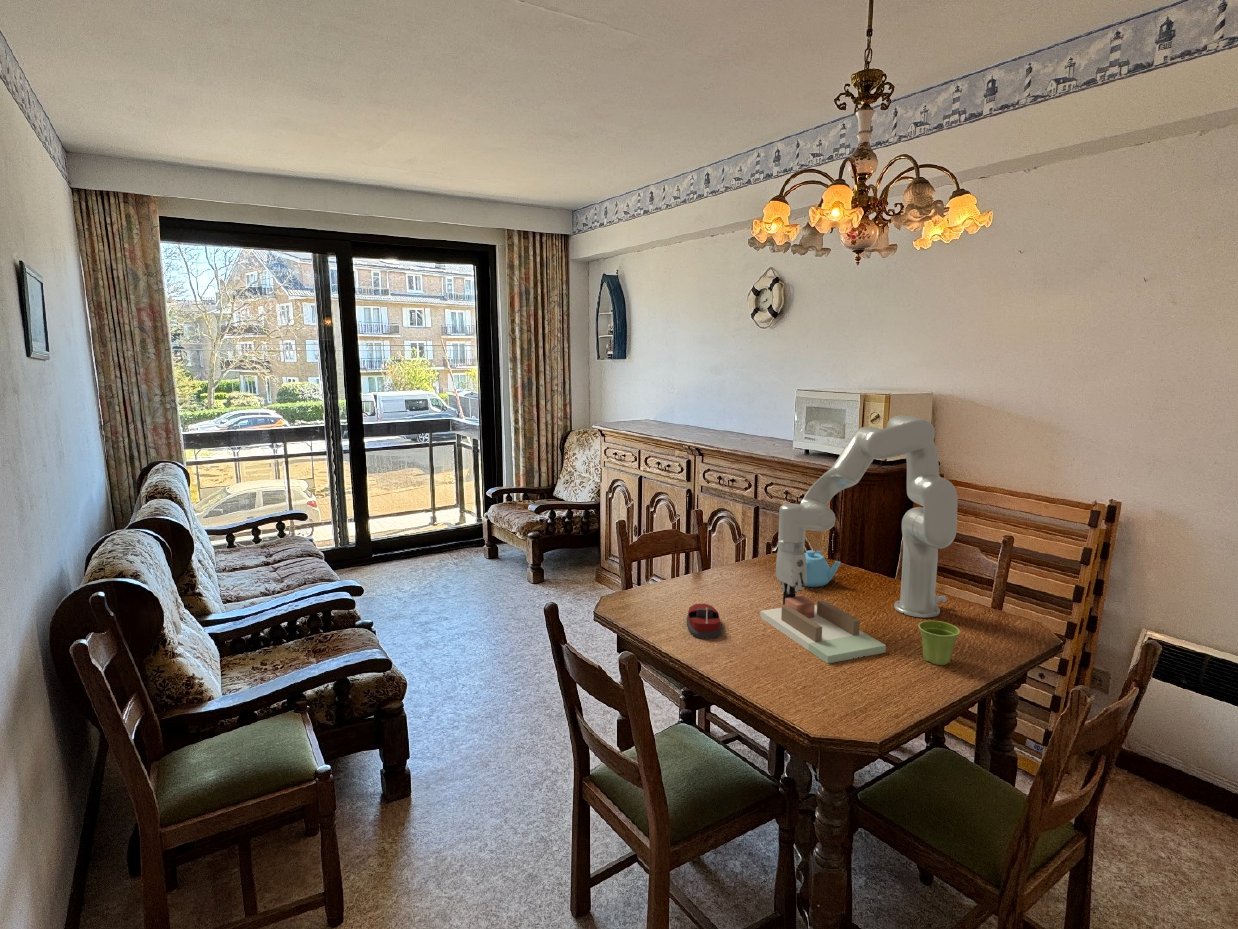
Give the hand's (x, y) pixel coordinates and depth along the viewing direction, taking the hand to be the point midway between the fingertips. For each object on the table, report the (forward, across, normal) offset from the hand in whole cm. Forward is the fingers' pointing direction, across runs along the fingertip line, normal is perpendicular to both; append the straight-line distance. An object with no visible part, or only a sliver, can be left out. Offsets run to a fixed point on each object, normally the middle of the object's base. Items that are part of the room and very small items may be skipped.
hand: (789, 605), depth 197 cm
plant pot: (+3, -38, -18) cm, 43 cm away
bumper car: (+4, 0, +28) cm, 28 cm away
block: (+1, -5, 0) cm, 5 cm away
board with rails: (+3, -14, 0) cm, 15 cm away
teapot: (+3, +24, -24) cm, 34 cm away
